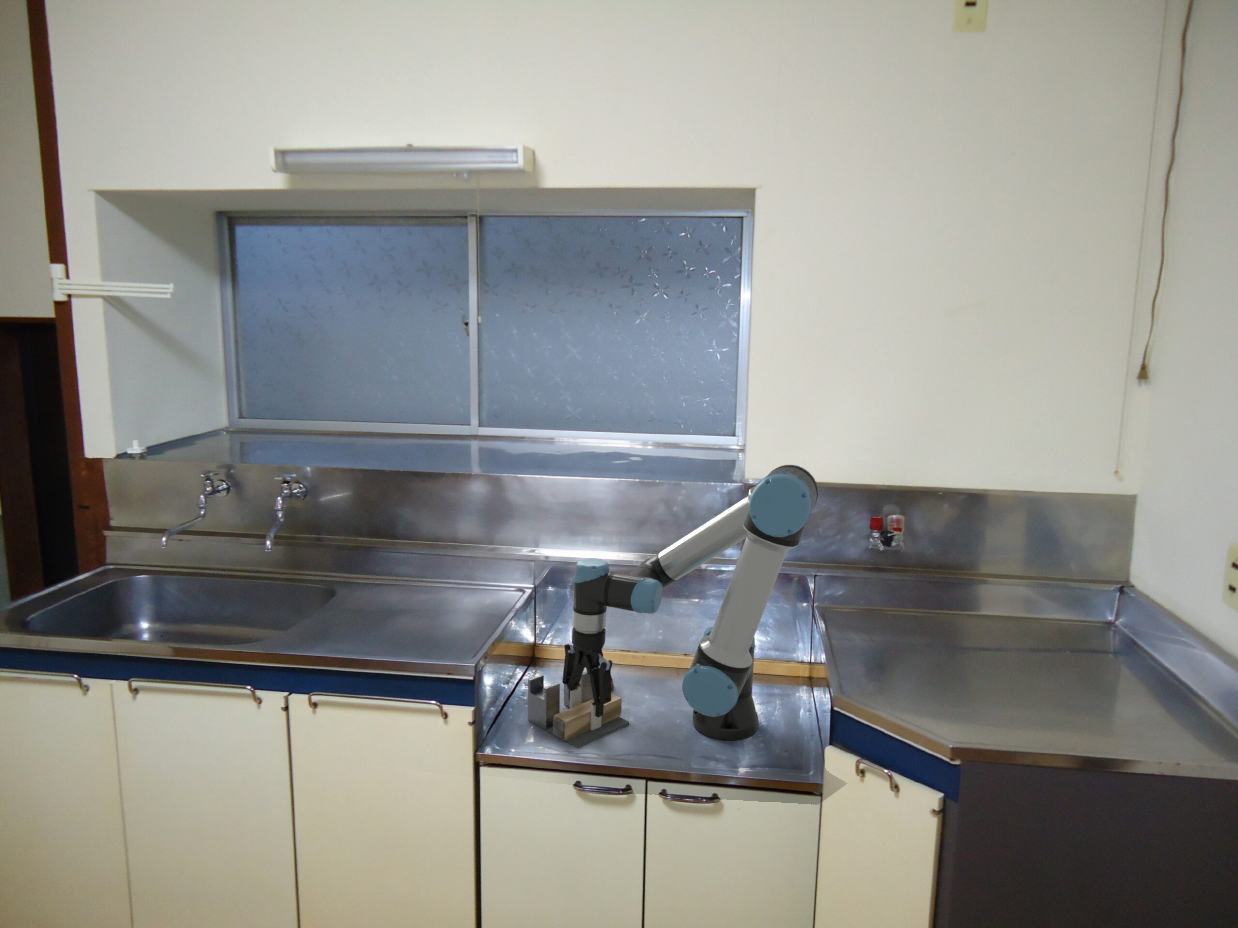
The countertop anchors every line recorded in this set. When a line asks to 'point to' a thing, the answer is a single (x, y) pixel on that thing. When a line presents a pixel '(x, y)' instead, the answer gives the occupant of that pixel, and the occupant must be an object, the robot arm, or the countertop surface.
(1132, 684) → the countertop surface
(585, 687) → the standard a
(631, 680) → the countertop surface
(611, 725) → the mat
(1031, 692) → the countertop surface
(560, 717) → the oak rail
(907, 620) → the countertop surface
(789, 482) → the robot arm
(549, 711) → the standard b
